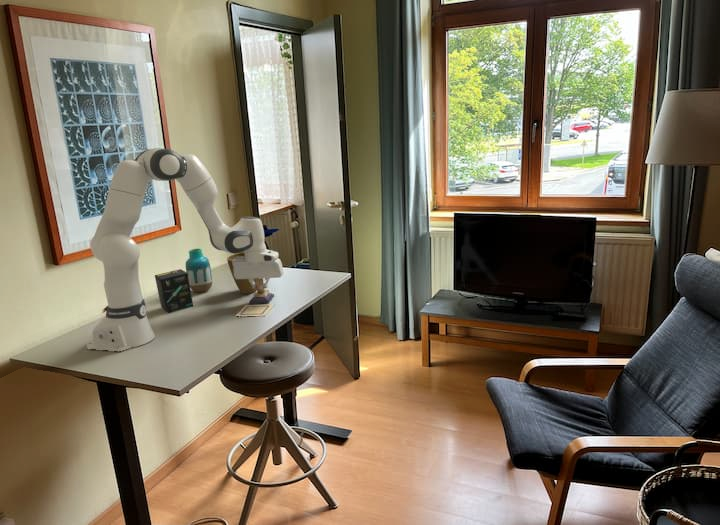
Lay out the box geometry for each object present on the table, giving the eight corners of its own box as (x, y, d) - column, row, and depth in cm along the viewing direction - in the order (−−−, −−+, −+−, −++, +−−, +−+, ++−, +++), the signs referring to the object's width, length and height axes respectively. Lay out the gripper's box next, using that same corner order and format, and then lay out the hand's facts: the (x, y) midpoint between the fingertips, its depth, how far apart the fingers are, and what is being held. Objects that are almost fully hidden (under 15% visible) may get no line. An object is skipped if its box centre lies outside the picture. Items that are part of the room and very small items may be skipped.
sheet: (234, 317, 200) (234, 316, 200) (245, 305, 211) (245, 304, 211) (265, 316, 198) (265, 315, 198) (274, 304, 209) (274, 304, 209)
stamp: (253, 298, 214) (250, 277, 211) (257, 294, 218) (254, 274, 216) (265, 298, 213) (262, 277, 211) (269, 293, 218) (266, 273, 215)
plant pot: (253, 297, 220) (247, 261, 216) (225, 295, 227) (219, 259, 223) (273, 286, 233) (268, 251, 229) (246, 284, 240) (241, 250, 235)
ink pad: (249, 304, 213) (249, 299, 212) (256, 297, 221) (255, 293, 220) (268, 303, 212) (268, 299, 211) (274, 296, 219) (273, 292, 219)
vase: (185, 294, 232) (177, 253, 227) (199, 286, 242) (192, 246, 237) (205, 295, 229) (198, 253, 224) (218, 287, 238) (212, 246, 233)
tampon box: (186, 301, 223) (180, 268, 219) (194, 306, 216) (188, 272, 212) (160, 308, 217) (153, 274, 213) (167, 313, 210) (160, 278, 206)
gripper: (228, 258, 210) (233, 291, 213) (277, 256, 207) (282, 289, 210) (234, 254, 216) (239, 286, 219) (282, 252, 213) (286, 284, 216)
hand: (260, 288), depth 215 cm, fingers closed on stamp, 3 cm apart
